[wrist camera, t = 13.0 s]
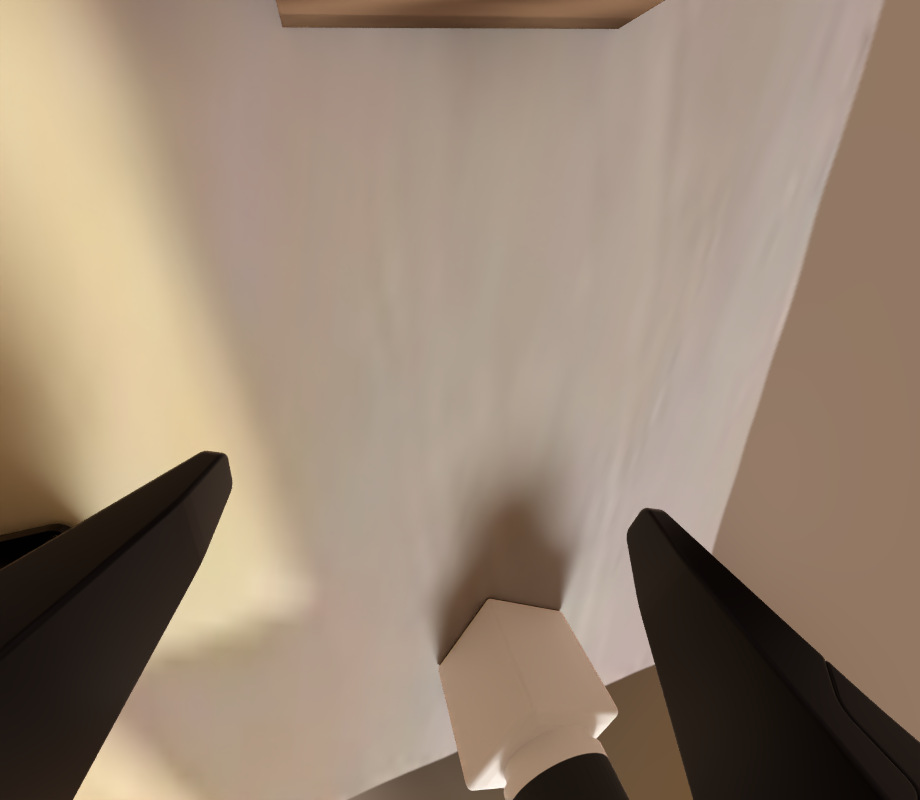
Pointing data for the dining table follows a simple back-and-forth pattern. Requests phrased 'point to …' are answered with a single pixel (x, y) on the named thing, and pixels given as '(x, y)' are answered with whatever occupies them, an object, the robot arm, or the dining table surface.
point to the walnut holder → (462, 13)
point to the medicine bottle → (528, 707)
